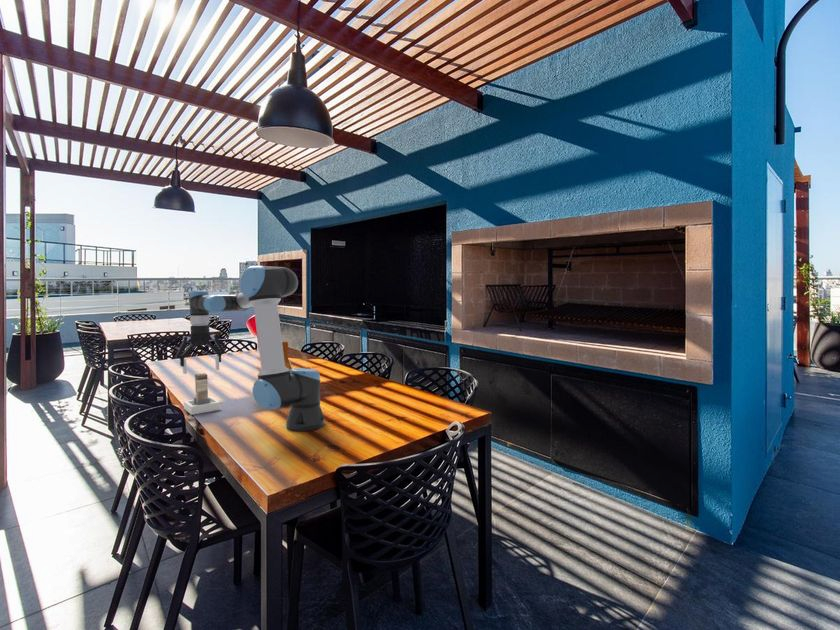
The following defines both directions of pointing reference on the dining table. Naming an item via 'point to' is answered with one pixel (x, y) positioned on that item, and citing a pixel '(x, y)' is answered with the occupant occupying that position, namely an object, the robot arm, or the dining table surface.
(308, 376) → the robot arm
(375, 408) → the dining table surface
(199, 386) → the wood grain beam
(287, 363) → the wine bottle
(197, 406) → the white square frame
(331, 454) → the dining table surface
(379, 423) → the dining table surface
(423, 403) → the dining table surface
